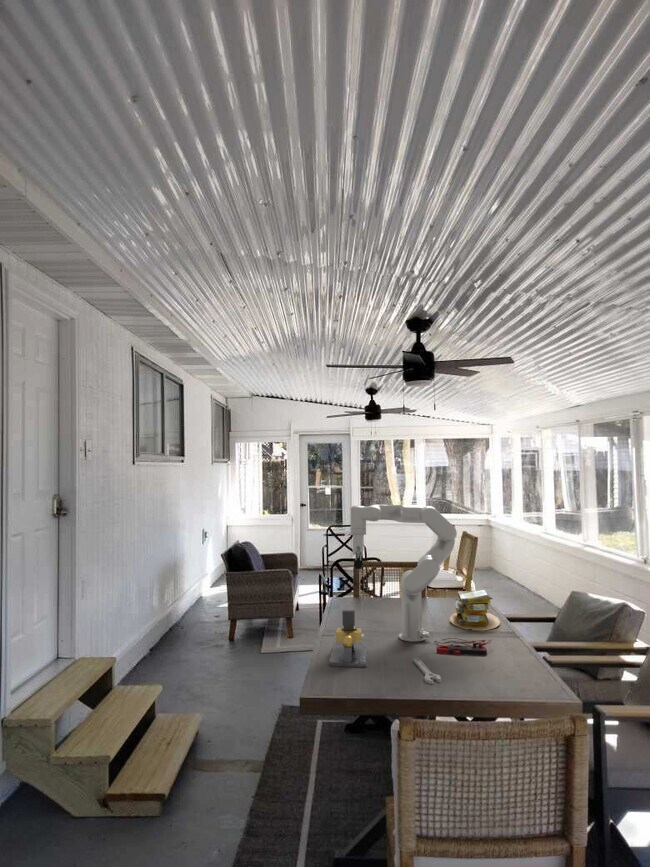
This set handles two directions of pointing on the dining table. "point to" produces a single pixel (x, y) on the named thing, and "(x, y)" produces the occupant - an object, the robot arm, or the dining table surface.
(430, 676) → the adjustable wrench
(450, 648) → the digital clamp meter
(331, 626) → the dining table surface
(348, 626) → the wedge
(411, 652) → the dining table surface
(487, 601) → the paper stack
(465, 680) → the dining table surface
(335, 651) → the multicoloured piece
